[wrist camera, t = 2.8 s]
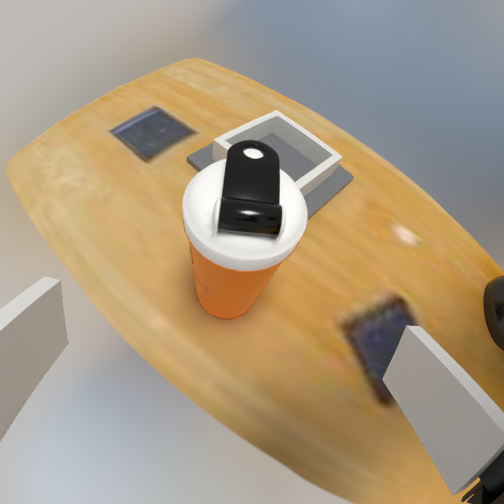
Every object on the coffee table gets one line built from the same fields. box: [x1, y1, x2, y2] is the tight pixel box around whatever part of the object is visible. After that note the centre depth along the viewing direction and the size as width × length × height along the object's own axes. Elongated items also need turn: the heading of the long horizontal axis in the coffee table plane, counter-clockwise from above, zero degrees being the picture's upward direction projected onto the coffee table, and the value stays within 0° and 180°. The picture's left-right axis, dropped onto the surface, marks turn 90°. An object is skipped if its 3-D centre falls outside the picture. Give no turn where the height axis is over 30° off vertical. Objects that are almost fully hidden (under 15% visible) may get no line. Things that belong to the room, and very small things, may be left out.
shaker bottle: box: [182, 140, 308, 319], centre depth 26 cm, size 9×9×20 cm
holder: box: [187, 110, 354, 220], centre depth 44 cm, size 20×20×5 cm
